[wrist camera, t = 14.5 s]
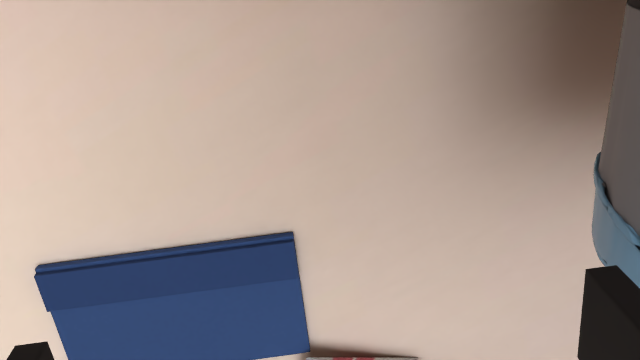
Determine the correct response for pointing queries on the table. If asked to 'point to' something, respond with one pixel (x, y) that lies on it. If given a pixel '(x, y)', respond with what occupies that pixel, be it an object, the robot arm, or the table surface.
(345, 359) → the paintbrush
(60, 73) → the table surface
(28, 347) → the robot arm
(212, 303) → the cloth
